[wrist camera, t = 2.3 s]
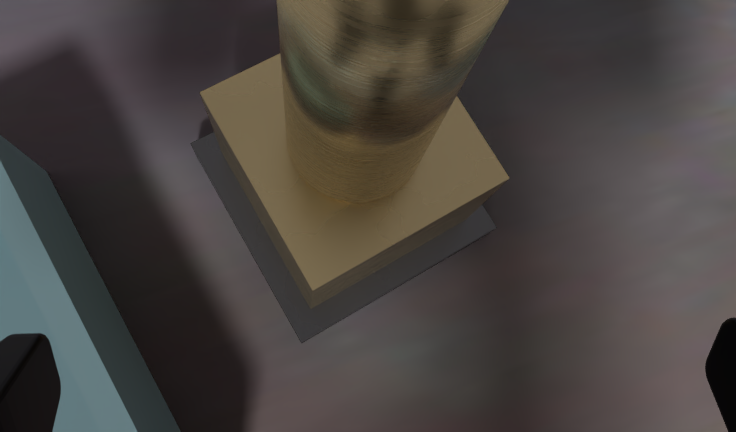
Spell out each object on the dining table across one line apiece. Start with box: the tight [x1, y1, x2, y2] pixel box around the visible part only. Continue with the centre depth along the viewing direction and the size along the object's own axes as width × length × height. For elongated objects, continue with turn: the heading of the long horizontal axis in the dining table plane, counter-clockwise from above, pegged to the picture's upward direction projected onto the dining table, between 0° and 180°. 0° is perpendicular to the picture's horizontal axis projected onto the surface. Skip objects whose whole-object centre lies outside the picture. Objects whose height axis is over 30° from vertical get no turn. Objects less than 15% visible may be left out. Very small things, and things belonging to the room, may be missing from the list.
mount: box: [190, 132, 497, 343], centre depth 20 cm, size 7×7×4 cm
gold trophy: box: [199, 0, 509, 309], centre depth 14 cm, size 6×6×13 cm
